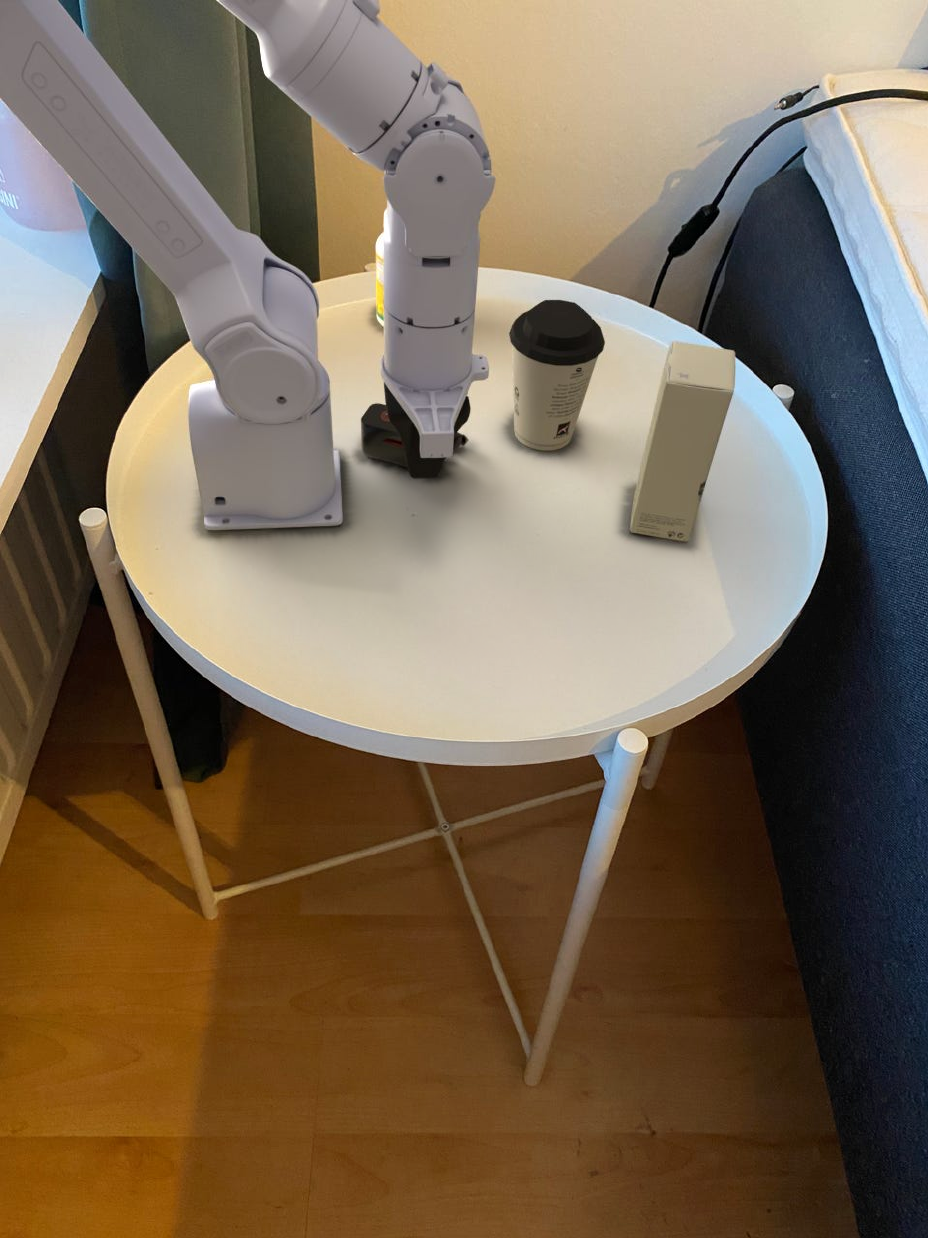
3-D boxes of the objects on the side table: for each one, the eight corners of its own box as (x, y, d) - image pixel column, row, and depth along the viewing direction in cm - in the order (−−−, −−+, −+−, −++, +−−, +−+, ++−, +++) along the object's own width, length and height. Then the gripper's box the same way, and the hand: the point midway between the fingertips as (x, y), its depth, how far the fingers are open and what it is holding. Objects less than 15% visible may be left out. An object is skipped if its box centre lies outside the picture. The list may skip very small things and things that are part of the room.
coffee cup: (587, 464, 74) (609, 351, 67) (496, 456, 74) (508, 342, 67) (586, 409, 79) (607, 297, 71) (501, 401, 79) (512, 289, 71)
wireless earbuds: (448, 481, 72) (450, 446, 69) (359, 457, 73) (358, 422, 71) (468, 445, 75) (471, 410, 72) (382, 423, 76) (382, 388, 74)
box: (688, 545, 69) (736, 394, 59) (627, 534, 69) (665, 382, 60) (692, 497, 72) (738, 347, 63) (633, 487, 73) (670, 336, 63)
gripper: (509, 370, 56) (491, 540, 66) (479, 244, 65) (467, 409, 76) (387, 372, 55) (387, 544, 65) (374, 244, 65) (376, 411, 75)
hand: (424, 472), depth 70 cm, fingers closed
